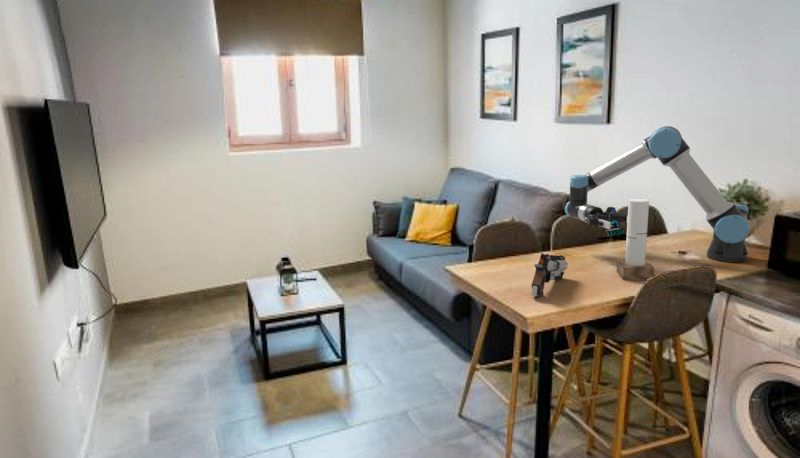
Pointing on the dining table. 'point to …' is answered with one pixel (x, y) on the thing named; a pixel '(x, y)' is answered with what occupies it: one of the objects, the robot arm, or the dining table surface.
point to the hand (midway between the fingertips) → (624, 224)
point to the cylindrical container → (636, 232)
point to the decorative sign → (617, 228)
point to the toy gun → (547, 271)
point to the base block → (634, 271)
